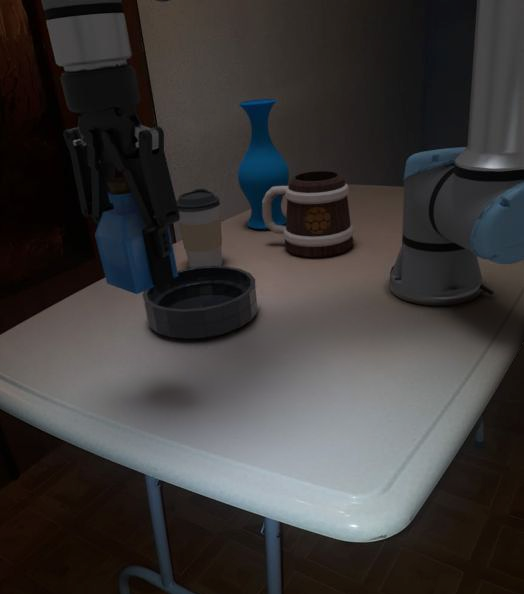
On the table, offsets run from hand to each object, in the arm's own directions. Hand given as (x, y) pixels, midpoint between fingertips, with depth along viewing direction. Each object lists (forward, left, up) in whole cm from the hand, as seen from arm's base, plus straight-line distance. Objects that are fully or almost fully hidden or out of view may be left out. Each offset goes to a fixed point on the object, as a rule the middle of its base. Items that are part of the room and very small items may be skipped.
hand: (142, 276), depth 68 cm
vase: (+30, -67, -17) cm, 75 cm away
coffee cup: (+26, -39, -17) cm, 50 cm away
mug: (+12, -57, -17) cm, 60 cm away
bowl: (+10, -20, -16) cm, 28 cm away
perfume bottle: (0, 0, -1) cm, 1 cm away
